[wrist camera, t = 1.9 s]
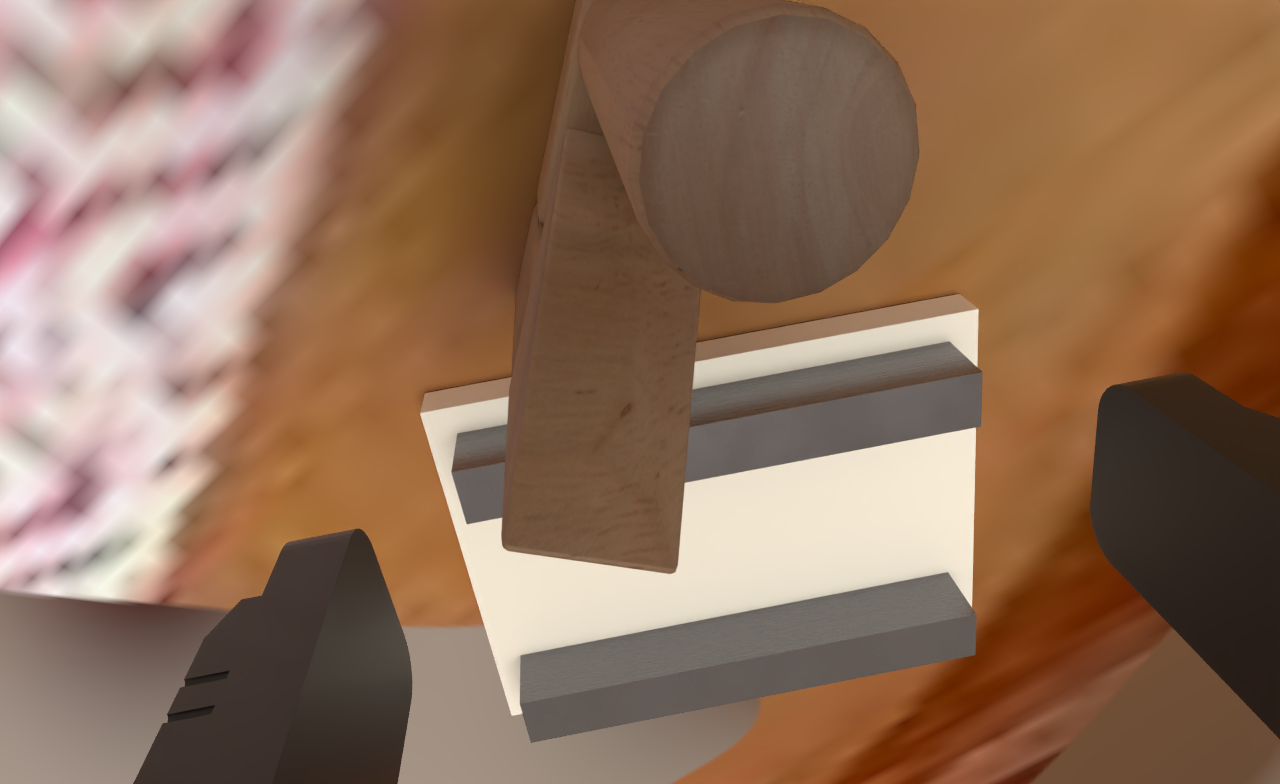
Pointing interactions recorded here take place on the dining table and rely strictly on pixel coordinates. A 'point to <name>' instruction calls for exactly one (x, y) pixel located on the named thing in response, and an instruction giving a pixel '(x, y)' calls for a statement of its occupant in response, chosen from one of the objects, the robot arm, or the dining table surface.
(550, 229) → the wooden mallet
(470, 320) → the dining table surface
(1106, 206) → the dining table surface
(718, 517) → the slotted base
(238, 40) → the dining table surface
